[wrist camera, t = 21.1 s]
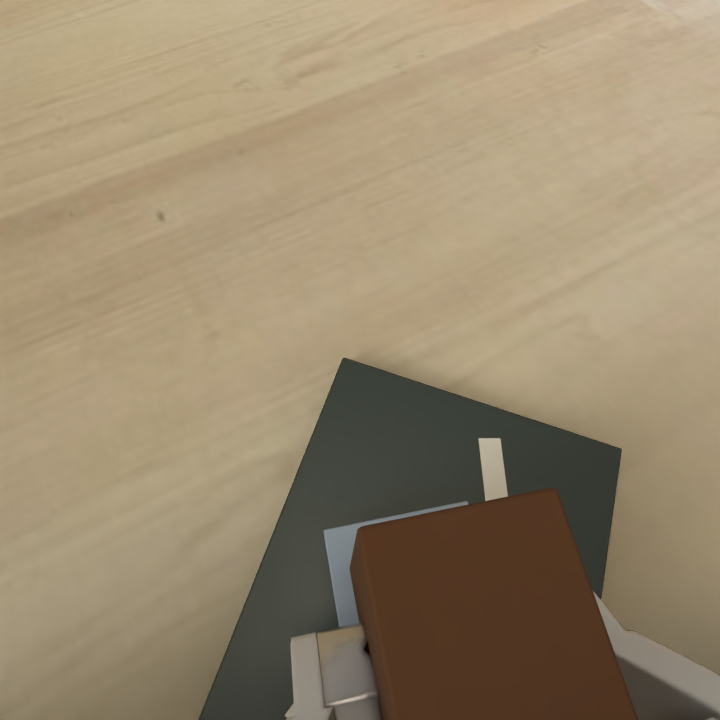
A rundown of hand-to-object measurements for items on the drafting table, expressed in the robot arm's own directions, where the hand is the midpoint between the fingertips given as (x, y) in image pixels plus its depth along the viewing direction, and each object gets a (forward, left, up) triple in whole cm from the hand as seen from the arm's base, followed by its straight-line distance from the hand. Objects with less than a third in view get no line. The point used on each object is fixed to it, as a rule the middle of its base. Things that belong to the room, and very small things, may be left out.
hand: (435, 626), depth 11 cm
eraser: (+1, -1, -5) cm, 5 cm away
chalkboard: (0, +1, -6) cm, 6 cm away
